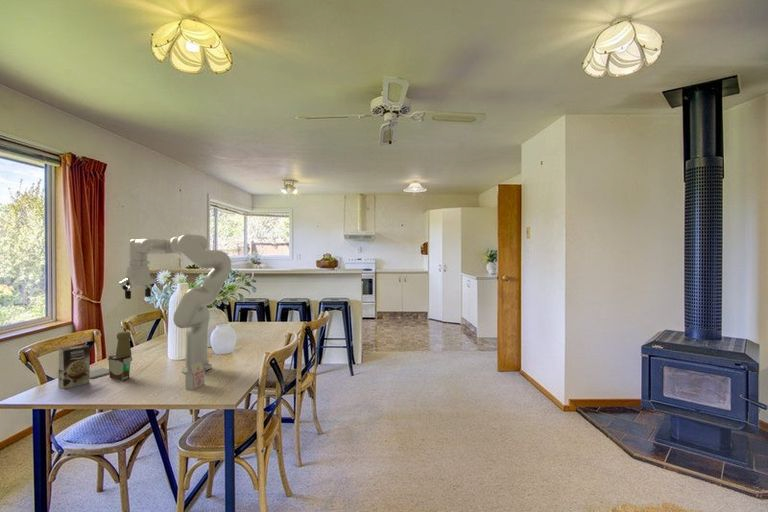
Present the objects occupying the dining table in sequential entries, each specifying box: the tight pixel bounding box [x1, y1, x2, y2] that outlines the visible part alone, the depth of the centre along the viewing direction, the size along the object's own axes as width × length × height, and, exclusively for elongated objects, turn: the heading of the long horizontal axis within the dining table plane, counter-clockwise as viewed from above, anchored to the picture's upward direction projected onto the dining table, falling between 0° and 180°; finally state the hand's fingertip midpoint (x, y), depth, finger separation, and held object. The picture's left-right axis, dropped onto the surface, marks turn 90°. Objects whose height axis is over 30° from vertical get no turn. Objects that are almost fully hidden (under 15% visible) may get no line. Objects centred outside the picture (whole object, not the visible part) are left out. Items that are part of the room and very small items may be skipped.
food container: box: [107, 354, 133, 382], centre depth 165 cm, size 12×6×10 cm, turn 65°
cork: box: [115, 330, 133, 358], centre depth 165 cm, size 6×6×11 cm
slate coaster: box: [89, 367, 109, 380], centre depth 170 cm, size 10×10×1 cm
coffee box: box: [57, 344, 91, 390], centre depth 157 cm, size 9×6×16 cm
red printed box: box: [184, 362, 206, 391], centre depth 155 cm, size 4×7×10 cm, turn 167°
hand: (138, 297), depth 183 cm, fingers open, 9 cm apart
